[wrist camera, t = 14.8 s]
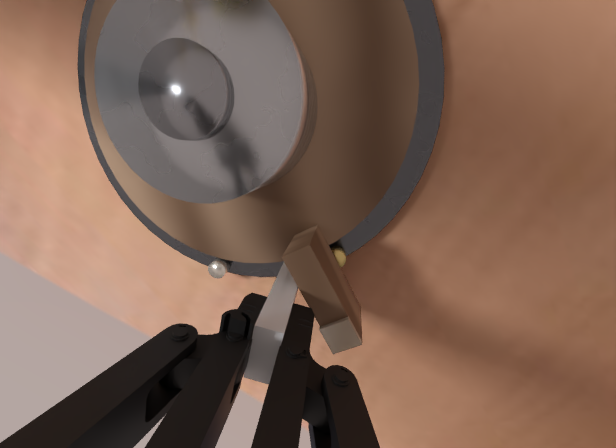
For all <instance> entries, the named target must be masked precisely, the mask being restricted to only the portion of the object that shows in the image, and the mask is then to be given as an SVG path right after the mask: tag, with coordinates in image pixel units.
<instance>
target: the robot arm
mask: <svg viewBox="0 0 616 448" xmlns="http://www.w3.org/2000/svg"><path fill="white" fill-rule="evenodd" d="M297 290H298V286H297V284H296V282H295V281H294V279H293V277H292V275H291V274H290V272H289V270H288V268H287V266H286V265H285V263H283V265H282V267H281V269H280V271H279V273H278V276H277V278H276V280H275V282H274V284H273V286H272V289H271V291H270V293H269V295H268V297H266V296H262V295H258V294H255V293H251V294H249V295H247V296H246V297H245V298H244V299H243V301H242V303H241V304H240V306H239V308H238V309H234V310H229V311H226V312H225V313H224V314H223V315H222V319H221V325H220V331H219V333H217V334H213V335H198V332H197V330H196V328H194V327H193V326H191V325H188V324H175V325H172V326H170V327H168V328H166V329H165V330H163V331H162V332H160V333H159V334H157V335H156V336H155V337H153V338H152V339H150V340H149V341H147V342H146V343H144V344H143V345H141V346H140V347H139V348H137V349H136V350H134V351H133V352H132V353H130V354H129V355H127V356H126V357H124V358H123V359H121V360H120V361H118V362H117V363H115V364H114V365H113V366H111V367H110V368H108V369H107V370H105V371H104V372H102V373H101V374H99V375H98V376H97V377H95V378H94V379H92V380H91V381H90V382H88V383H86V384H85V385H84V386H82V387H81V388H80V389H78V390H77V391H75V392H73V393H72V394H71V395H69V396H68V397H66V398H65V399H63V400H62V401H60V402H59V403H57V404H56V405H55V406H53V407H52V408H50V409H49V410H47V411H46V412H44V413H43V414H42V415H40V416H39V417H37V418H36V419H34V420H33V421H31V422H30V423H29V424H27V425H26V426H24V427H23V428H21V429H20V430H18V431H17V432H15V433H14V434H13V435H11V436H10V437H8V438H7V439H5V440H4V441H3V442H1V443H0V448H133V447H134V446H135V445H136V444H137V443H138V442H139V441H140V440H141V439H142V438H143V437H144V436H145V435H146V434H147V433H148V432H149V431H150V430H151V429H152V428H153V427H154V426H155V425H156V424H157V423H158V422H159V420H160V419H162V417H164V416H165V417H164V418H163V420H162V422H161V423H160V425H159V426H158V428H157V429H156V431H155V433H154V434H153V436H152V437H151V439H150V440H149V442H148V443H147V445H146V447H145V448H215V446H216V444H217V442H218V439H219V437H220V434H221V432H222V430H223V427H224V425H225V422H226V420H227V418H228V415H229V413H230V410H231V408H232V406H233V403H234V401H235V398H236V396H237V394H238V391H239V389H240V385H241V380H242V377H243V375H244V377H245V378H249V379H252V380H255V381H259V382H262V383H266V384H269V386H268V390H267V393H266V397H265V400H264V404H263V408H262V411H261V415H260V418H259V422H258V425H257V429H256V432H255V436H254V439H253V443H252V447H251V448H298V446H299V438H300V431H301V423H302V419H304V420H305V421H307V422H308V423H309V433H310V441H311V448H380V446H379V443H378V440H377V437H376V434H375V431H374V429H373V426H372V423H371V420H370V417H369V414H368V411H367V408H366V405H365V402H364V399H363V396H362V393H361V391H360V388H359V385H358V382H357V379H356V377H355V376H354V374H353V373H352V372H351V371H350V370H349V369H347V368H345V367H343V366H339V365H332V366H330V367H328V368H327V369H326V368H324V367H322V366H320V365H319V364H318V363H316V362H315V361H314V360H313V358H312V357H311V355H310V342H311V335H312V328H313V322H314V313H313V310H312V308H309V307H305V306H301V305H298V304H294V302H295V298H296V294H297ZM244 372H245V373H244ZM166 413H167V414H166Z"/></svg>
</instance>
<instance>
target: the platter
mask: <svg viewBox="0 0 616 448" xmlns="http://www.w3.org/2000/svg"><path fill="white" fill-rule="evenodd" d="M116 1H117V0H95V2H94V5H93V8H92V12H91V16H90V21H89V25H88V29H87V37H86V46H85V87H86V96H87V103H88V108H89V112H90V117H91V121H92V125H93V128H94V131H95V134H96V137H97V140H98V143H99V146H100V148H101V150H102V152H103V155H104V157H105V159H106V161H107V163H108V165H109V167H110V169H111V170H112V172H113V174H114V176H115V177H116V179H117V181H118V182H119V184H120V185H121V187H122V188H123V189H124V191H125V192H126V193H127V195H128V196H129V198H130V199H131V200H132V201H133V202H134V203H135V204H136V206H137V207H138V208H139V209H140V210H141V211H142V212H143V213H144V214H145V215H146V216H147V217H148V218H149V219H150V220H151V221H152V222H154V223H155V224H156V225H157V226H158V227H159V228H161V229H162V230H164V231H165V232H166V233H168V234H169V235H170V236H172V237H173V238H175V239H177V240H178V241H180V242H182V243H184V244H185V245H187V246H189V247H191V248H193V249H196V250H198V251H200V252H203V253H205V254H208V255H211V256H214V257H218V258H221V259H225V260H230V261H237V262H243V263H272V262H282V261H284V263H285V265H286V266H287V268H288V270H289V272H290V274H291V275H292V277H293V279H294V281H295V282H296V284H297V286H298V288H299V290H300V291H301V293H302V295H303V297H304V299H305V300H306V302H307V304H308V306H309V307H310V308H312V310H313V313H314V316H315V318H316V320H317V322H318V323H319V325H320V332H321V333H322V335H323V337H324V339H325V341H326V342H327V344H328V346H329V348H330V349H331V351H332V353H333V354H335V353H338V352H341V351H344V350H347V349H350V348H354V347H357V346H360V345H362V327H361V306H360V305H359V303H358V301H357V299H356V297H355V295H354V293H353V291H352V289H351V287H350V285H349V283H348V281H347V280H346V278H345V276H344V274H343V272H342V270H341V268H340V266H339V264H338V262H337V260H336V258H335V257H334V255H333V253H332V251H331V249H330V247H329V245H330V244H332V243H334V242H336V241H337V240H339V239H340V238H341V237H343V236H344V235H346V234H347V233H349V232H350V231H351V230H353V229H354V228H355V227H356V226H357V225H358V224H359V223H360V222H361V221H363V220H364V219H365V218H366V217H367V216H368V215H369V214H370V212H371V211H372V210H373V209H374V208H375V207H376V205H377V204H378V203H379V202H380V201H381V199H382V198H383V196H384V195H385V193H386V192H387V190H388V189H389V187H390V186H391V184H392V183H393V181H394V179H395V177H396V175H397V173H398V171H399V169H400V167H401V165H402V163H403V160H404V158H405V155H406V152H407V149H408V146H409V143H410V140H411V137H412V134H413V129H414V124H415V119H416V114H417V106H418V93H419V71H418V55H417V50H416V44H415V39H414V33H413V28H412V25H411V22H410V19H409V16H408V13H407V10H406V6H405V3H404V1H403V0H268V1H269V2H270V4H271V5H272V6H273V8H274V9H275V10H276V12H277V13H278V14H279V16H280V18H281V19H282V21H283V22H284V24H285V26H286V27H287V29H288V30H289V32H290V34H291V35H292V37H293V39H294V40H295V42H296V43H297V45H298V47H299V48H300V50H301V51H302V53H303V55H304V57H305V58H306V60H307V62H308V64H309V67H310V69H311V72H312V74H313V78H314V82H315V86H316V92H317V119H316V125H315V129H314V133H313V136H312V139H311V141H310V144H309V146H308V148H307V150H306V152H305V153H304V155H303V156H302V158H301V159H300V161H299V162H298V163H297V164H296V165H295V166H294V167H293V169H292V170H290V171H289V172H288V173H287V174H286V175H284V176H283V177H281V178H280V179H278V180H277V181H275V182H273V183H270V184H268V185H266V186H264V187H261V188H259V189H256V190H254V191H252V192H249V193H247V194H245V195H242V196H240V197H238V198H235V199H232V200H228V201H225V202H219V203H211V204H208V203H193V202H186V201H183V200H179V199H176V198H173V197H171V196H169V195H166V194H164V193H162V192H160V191H159V190H157V189H155V188H153V187H152V186H151V185H149V184H148V183H147V182H145V181H144V180H143V179H141V178H140V177H139V176H138V175H137V174H136V173H135V172H134V171H133V170H132V169H131V168H130V167H129V166H128V164H127V163H126V162H125V161H124V160H123V158H122V157H121V155H120V154H119V153H118V151H117V150H116V148H115V146H114V145H113V143H112V141H111V139H110V137H109V135H108V133H107V131H106V128H105V126H104V123H103V121H102V117H101V114H100V111H99V107H98V102H97V97H96V91H95V79H94V72H95V56H96V49H97V44H98V40H99V36H100V33H101V30H102V27H103V25H104V22H105V19H106V17H107V16H108V14H109V12H110V10H111V8H112V6H113V5H114V3H115V2H116Z"/></svg>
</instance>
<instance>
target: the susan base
mask: <svg viewBox="0 0 616 448" xmlns="http://www.w3.org/2000/svg"><path fill="white" fill-rule="evenodd" d="M403 1H404V3H405V6H406V10H407V13H408V16H409V19H410V22H411V25H412V28H413V33H414V39H415V44H416V50H417V55H418V71H419V93H418V106H417V114H416V119H415V124H414V129H413V134H412V137H411V140H410V143H409V146H408V149H407V152H406V155H405V158H404V160H403V163H402V165H401V167H400V169H399V171H398V173H397V175H396V177H395V179H394V181H393V183H392V184H391V186H390V187H389V189H388V190H387V192H386V193H385V195H384V196H383V198H382V199H381V201H380V202H379V203H378V204H377V205H376V207H375V208H374V209H373V210H372V211H371V212H370V214H369V215H368V216H367V217H366V218H365V219H364V220H363V221H361V222H360V223H359V224H358V225H357V226H356V227H355V228H354V229H353V230H351V231H350V232H349V233H347V234H346V235H344V236H343V237H341V238H340V239H339V240H337V241H336V242H334V243H332V244H330V245H329V247H330V249H331V251H332V253H333V255H334V257H335V258H336V260H337V262H338V264H339V266H340V268H341V267H342V266H344V264H345V262H346V256H347V255H349V254H350V253H352V252H354V251H356V250H357V249H359V248H360V247H362V246H363V245H364V244H365V243H367V242H368V241H369V240H371V239H372V238H373V237H374V236H376V235H377V234H378V233H379V232H380V231H381V230H382V229H383V228H384V227H385V226H386V225H387V224H388V223H389V222H390V221H391V220H392V219H393V218H394V217H395V215H396V214H397V213H398V211H399V210H400V209H401V208H402V206H403V205H404V204H405V202H406V201H407V200H408V198H409V197H410V195H411V193H412V192H413V190H414V188H415V186H416V185H417V183H418V181H419V180H420V178H421V176H422V174H423V171H424V169H425V167H426V164H427V162H428V160H429V157H430V155H431V153H432V149H433V146H434V142H435V139H436V135H437V132H438V128H439V124H440V117H441V111H442V105H443V98H444V59H443V49H442V39H441V34H440V30H439V26H438V21H437V17H436V13H435V9H434V6H433V3H432V0H403ZM94 2H95V0H87V1H86V5H85V9H84V12H83V17H82V23H81V29H80V36H79V47H78V78H79V92H80V98H81V104H82V109H83V115H84V119H85V122H86V126H87V129H88V133H89V136H90V139H91V142H92V145H93V147H94V150H95V152H96V155H97V157H98V160H99V162H100V164H101V166H102V167H103V169H104V171H105V173H106V175H107V177H108V179H109V181H110V182H111V184H112V185H113V187H114V188H115V190H116V191H117V193H118V195H119V196H120V198H121V199H122V200H123V201H124V203H125V204H126V205H127V206H128V208H129V209H130V210H131V211H132V213H133V214H134V215H135V216H136V217H137V218H138V219H139V220H140V221H141V222H142V223H143V224H144V225H145V226H146V227H147V228H148V229H149V230H150V231H151V232H152V233H154V234H155V235H156V236H157V237H159V238H160V239H161V240H162V241H164V242H165V243H166V244H168V245H169V246H171V247H172V248H174V249H175V250H177V251H179V252H180V253H182V254H183V255H185V256H187V257H189V258H191V259H193V260H195V261H197V262H200V263H202V264H204V265H207V266H209V267H208V271H209V273H210V275H211V276H212V277H214V278H221V277H223V276H224V275H225V274H226V273H227V272H230V273H235V274H239V275H247V276H257V277H277V276H278V273H279V271H280V269H281V267H282V265H283V263H284V261H282V262H272V263H243V262H237V261H230V260H225V259H221V258H218V257H214V256H211V255H208V254H205V253H203V252H200V251H198V250H196V249H193V248H191V247H189V246H187V245H185V244H184V243H182V242H180V241H178V240H177V239H175V238H173V237H172V236H170V235H169V234H168V233H166V232H165V231H164V230H162V229H161V228H159V227H158V226H157V225H156V224H155V223H154V222H152V221H151V220H150V219H149V218H148V217H147V216H146V215H145V214H144V213H143V212H142V211H141V210H140V209H139V208H138V207H137V206H136V204H135V203H134V202H133V201H132V200H131V199H130V198H129V196H128V195H127V193H126V192H125V191H124V189H123V188H122V187H121V185H120V184H119V182H118V181H117V179H116V177H115V176H114V174H113V172H112V170H111V169H110V167H109V165H108V163H107V161H106V159H105V157H104V155H103V152H102V150H101V148H100V146H99V143H98V140H97V137H96V134H95V131H94V128H93V125H92V121H91V117H90V112H89V108H88V103H87V96H86V87H85V46H86V37H87V29H88V25H89V21H90V16H91V12H92V8H93V5H94Z"/></svg>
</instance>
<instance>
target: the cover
mask: <svg viewBox="0 0 616 448" xmlns="http://www.w3.org/2000/svg"><path fill="white" fill-rule="evenodd" d="M94 79H95V91H96V97H97V102H98V107H99V111H100V114H101V117H102V121H103V123H104V126H105V128H106V131H107V133H108V135H109V137H110V139H111V141H112V143H113V145H114V146H115V148H116V150H117V151H118V153H119V154H120V155H121V157H122V158H123V160H124V161H125V162H126V163H127V164H128V166H129V167H130V168H131V169H132V170H133V171H134V172H135V173H136V174H137V175H138V176H139V177H140V178H141V179H143V180H144V181H145V182H147V183H148V184H149V185H151V186H152V187H153V188H155V189H157V190H159V191H160V192H162V193H164V194H166V195H169V196H171V197H173V198H176V199H179V200H183V201H186V202H193V203H208V204H211V203H219V202H225V201H228V200H232V199H235V198H238V197H240V196H242V195H245V194H247V193H249V192H252V191H254V190H256V189H259V188H261V187H264V186H266V185H268V184H270V183H273V182H275V181H277V180H278V179H280V178H281V177H283V176H284V175H286V174H287V173H288V172H289V171H290V170H292V169H293V167H294V166H295V165H296V164H297V163H298V162H299V161H300V159H301V158H302V156H303V155H304V153H305V152H306V150H307V148H308V146H309V144H310V141H311V139H312V136H313V133H314V129H315V125H316V119H317V92H316V86H315V82H314V78H313V74H312V72H311V69H310V67H309V64H308V62H307V60H306V58H305V57H304V55H303V53H302V51H301V50H300V48H299V47H298V45H297V43H296V42H295V40H294V39H293V37H292V35H291V34H290V32H289V30H288V29H287V27H286V26H285V24H284V22H283V21H282V19H281V18H280V16H279V14H278V13H277V12H276V10H275V9H274V8H273V6H272V5H271V4H270V2H269V1H268V0H117V1H116V2H115V3H114V5H113V6H112V8H111V10H110V12H109V14H108V16H107V17H106V19H105V22H104V25H103V27H102V30H101V33H100V36H99V40H98V44H97V49H96V56H95V72H94Z"/></svg>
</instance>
